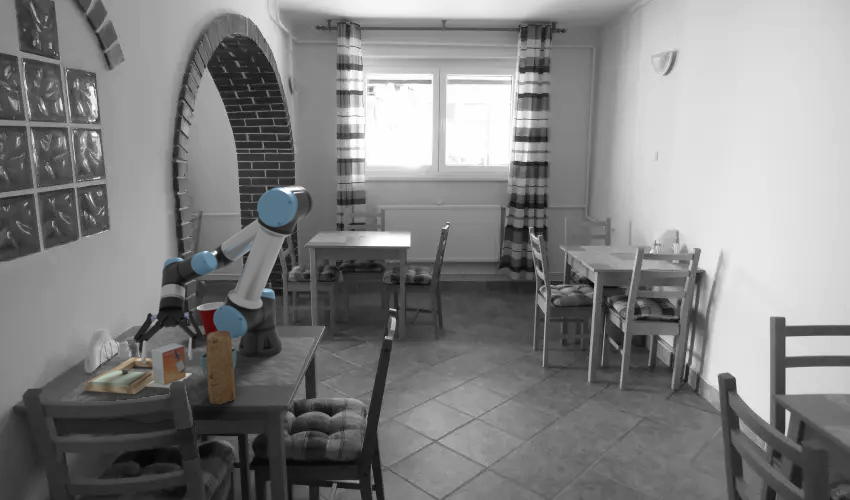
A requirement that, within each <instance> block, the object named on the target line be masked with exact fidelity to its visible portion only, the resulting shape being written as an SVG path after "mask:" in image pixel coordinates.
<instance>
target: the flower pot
mask: <svg viewBox="0 0 850 500" xmlns="http://www.w3.org/2000/svg"><path fill="white" fill-rule="evenodd" d="M232 354H233V365H234V369H235V367H236V364H237V354H238V349H237V348H232ZM199 360H200V364H201V370H202V373H203V374H204V377H205V378H206V379H207V356H206V352H204V353H203V354H202V355H200V357H199Z"/></svg>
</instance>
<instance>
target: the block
mask: <svg viewBox="0 0 850 500" xmlns="http://www.w3.org/2000/svg"><path fill="white" fill-rule="evenodd" d="M205 343H206V344H205V345H206V350H205V353H206V356H207V378H206V381H207V393H208V400H209V403H210V404H212V405H221V404H220V403H225V402H228V401H231V400H233V401H234V400H235V399H236V384H235V368H234V365H233V354H232V349H233V346H232V345H233V344H232V338H231V335H230V332H228V331H216V332H211V333H209V334H208V335H207V336H206V342H205ZM231 402H232V401H231ZM228 403H229V402H228ZM225 404H226V403H225Z"/></svg>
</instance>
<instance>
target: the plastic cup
mask: <svg viewBox="0 0 850 500" xmlns="http://www.w3.org/2000/svg"><path fill="white" fill-rule="evenodd" d="M224 303H225V302H222V301H216V302H214V301H213V302H208V303H204V304H201V305H198V306H196V310H197V311H198V312H199V315H200V319H201V323H202V327H203V329H204V334H205V336H206V337H207V335H208V334H209V333H211V332H216V331H218V330H217V327H216V326H215V324H214V313H215V311H216V310H217V309H218V308H219V307H220V306H223V305H224Z"/></svg>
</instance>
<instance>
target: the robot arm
mask: <svg viewBox="0 0 850 500" xmlns="http://www.w3.org/2000/svg"><path fill="white" fill-rule="evenodd" d="M256 206H257V207H256V209H257V213H258V217H257V219H255V220H254V221H252V222H251V223H249V224H248V225H246V226H245V227H244V228H242V229H241V230H239V231H238V232H236V233H235V234H233V235H232V236H231V237H230V238H228V239H227V240H225V241H223V243H221V244H219V245H218V246H216V247H215V248H213V249H210V250H204V251H200V252H198V253H195V254H193V255H192V256H189V257H188V258H185V259H183V258H181V257H174V258H172V257H171V258H168V259H166V260H165V261H164V263H163V267H162V272H161V273H162V274H161V275H162V276H161V288H160V295H159V296H160V297H159V304H158V305H159V307H158V312H157V314H152V313H151V312H150V313H148V314H147V316H146V320H145V321H144V322H143V324H142V325H141V326H140V328H139V329H138V331H137V332H136V333H135V335H134V336H133V339H134V342H135V343H136V344H137V343H138V345H139V346H138V352H139V353H140V354H141V357H140V358H141V361H142V363H143V364H144V363H146V358H147V355H148V353H147V352H148V346H149V345H148V342H149V340H151V338H153V336H154V335H155V334H157V333H158V332H159V331H160V330H162V329H163V328H176V327H177V326H178V327H179V328H180V329H182V330H183V332H185V333H186V334H187V335H188V336H189V337H188V338H189V339H188V350H187V351H188V352H187V357H188V361H192V360H193V350H196V349H197V341H198V340H199V339H203V338H204V335H203V332H202V331H201V329H200V326H199V325H198V323H197V322H196V320H195V318H194V313H193V310H189V311H188V312H184V311H185V309H184V308H185V298H186V297H185V295H186V285H187V284H188V283H190V282H192V281H195V280H197V279H199V278H201V277H204V276H207V275H209V274H212V273H215V272H217V271H221V270H223V269H224V270H225V269H227V268H229V267H230V266H233V265H234V263H235V261H237V260H238V259H239V258H241V257H242V256H244V255H245V254H247V253H248V252H249V254H248V256H247V259H246V261H245V263H244V266H243V268H242V270H241V274H240V275H239V279H238V281H237V284H236V286H235V288H234V289H232V290H230V291H228V293H227V295H226V298H225V301H224V302H223V303H224V305H223V306H220V307H219V308H218V309H217V310H216V311H215V313H214V324H215V326H216V327H217V330H218V331H228V332H230V335H231V339H237V338H240V340H239V344H238V354H239V355H240V356H242V357H246V358H265V357H269V356H270V357H271V356H274V355H276V354H279V353H280V352H281V351H282V350H283V346H282V340H281V338H280V335H279V334H278V329H277V317H276V314H277V313H276V297H275V291H274V290H273V289H271V288H265V287H266V285H267V283H268V280H269V277H270V275H271V272H272V270H273V268H274V266H275V263H276V261H277V258H278V256H279V253H280V251H281V248H282V246H283V244H284V241H285V238H287V237H289V236H291V235H292V234H293V232H294V230H295V227H296V225H297V223H299V222H300V221H302V220H303V219H306V218H307V217H308V216H309V215H310V214H311V213H312V211H313V209H314V199H313V196H312V194H311V192H310V191H309V190H308V189H307V188H305V187H304V186H301V185H289V186H279V187H278V186H277V187H273V188H270V189H269V190H266V191H265V192H263V194H261V196H260V197H259V200H258V202H257V205H256ZM185 318H186V319H187V320H189V321H190V324H191V326H192V327H193V329H194V331H195V332H193V330H192V329H191V328H190V327H189V326H188V325H186V324H185V323H184V321H183V320H184V319H185ZM155 320H157V321H156V322H155ZM153 322H155V323H154V325H153V326H152V323H153ZM151 326H152V327H151ZM150 327H151V328H150Z"/></svg>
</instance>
